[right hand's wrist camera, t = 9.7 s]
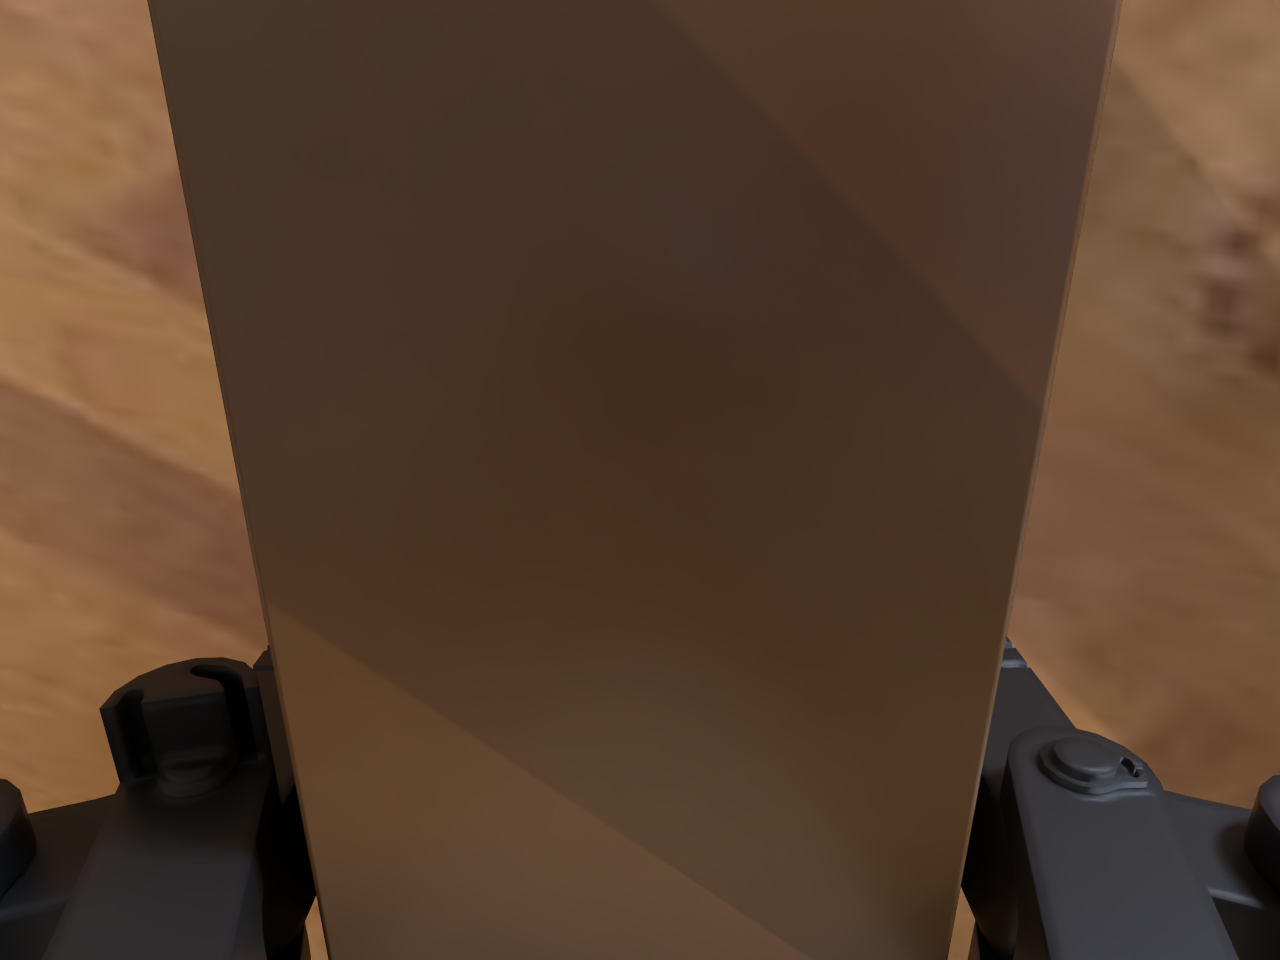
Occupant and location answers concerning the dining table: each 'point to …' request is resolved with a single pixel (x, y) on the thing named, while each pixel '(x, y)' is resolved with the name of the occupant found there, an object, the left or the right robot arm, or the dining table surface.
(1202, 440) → the dining table surface
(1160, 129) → the dining table surface
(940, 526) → the post
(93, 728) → the dining table surface
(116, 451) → the dining table surface
